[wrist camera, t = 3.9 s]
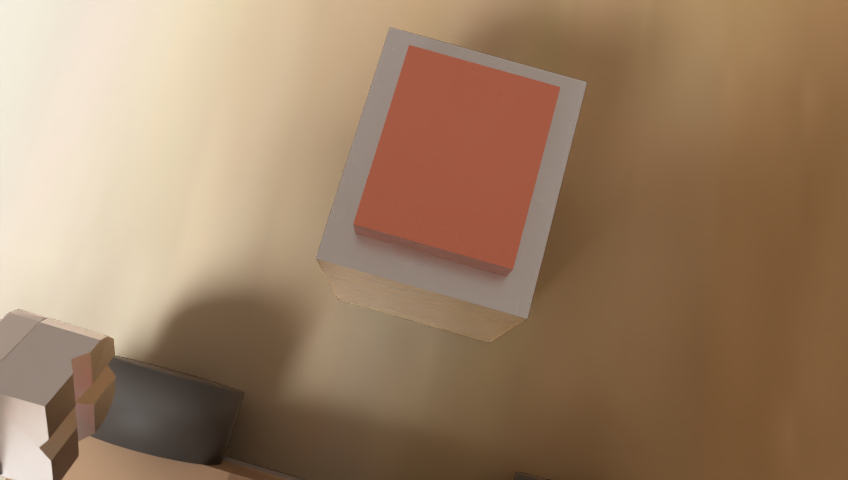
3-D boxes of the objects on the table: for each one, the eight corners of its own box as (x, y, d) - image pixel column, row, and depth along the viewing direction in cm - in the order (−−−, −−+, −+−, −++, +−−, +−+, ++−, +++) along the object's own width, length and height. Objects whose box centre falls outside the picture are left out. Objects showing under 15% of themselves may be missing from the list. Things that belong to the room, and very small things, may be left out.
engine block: (489, 342, 24) (535, 313, 16) (337, 299, 24) (310, 249, 16) (534, 168, 25) (597, 63, 17) (390, 128, 25) (389, 6, 18)
